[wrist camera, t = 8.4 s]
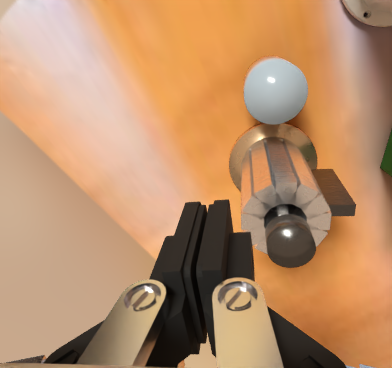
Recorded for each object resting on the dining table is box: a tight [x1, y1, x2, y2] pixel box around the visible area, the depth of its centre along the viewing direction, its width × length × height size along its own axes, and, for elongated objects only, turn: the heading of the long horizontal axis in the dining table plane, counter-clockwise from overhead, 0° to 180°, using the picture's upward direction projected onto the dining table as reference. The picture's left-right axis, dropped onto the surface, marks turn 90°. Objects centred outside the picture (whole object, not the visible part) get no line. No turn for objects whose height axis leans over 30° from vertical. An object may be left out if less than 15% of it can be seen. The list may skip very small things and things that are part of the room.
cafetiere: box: [229, 123, 356, 254], centre depth 41 cm, size 14×13×17 cm
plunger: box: [265, 204, 316, 268], centre depth 37 cm, size 4×4×19 cm
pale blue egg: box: [244, 55, 308, 124], centre depth 39 cm, size 7×7×9 cm
